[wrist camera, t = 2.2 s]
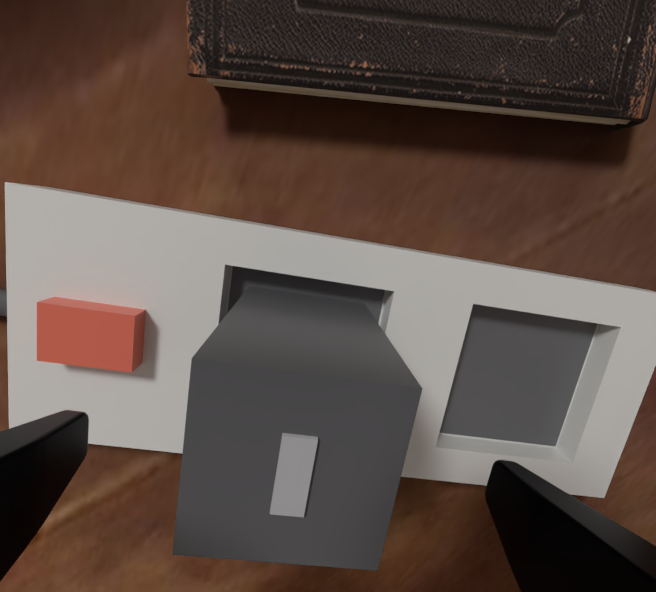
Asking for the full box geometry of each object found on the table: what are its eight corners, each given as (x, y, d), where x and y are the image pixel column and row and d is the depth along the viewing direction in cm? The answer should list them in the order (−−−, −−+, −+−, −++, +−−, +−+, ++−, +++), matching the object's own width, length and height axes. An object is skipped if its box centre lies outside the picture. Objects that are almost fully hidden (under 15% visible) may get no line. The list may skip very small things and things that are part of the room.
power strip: (570, 466, 17) (620, 513, 15) (-222, 376, 14) (-350, 414, 11) (634, 287, 15) (705, 302, 13) (-261, 134, 12) (-426, 110, 9)
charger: (343, 405, 15) (379, 575, 8) (235, 392, 14) (171, 559, 7) (364, 303, 14) (423, 390, 7) (249, 285, 13) (190, 360, 6)
